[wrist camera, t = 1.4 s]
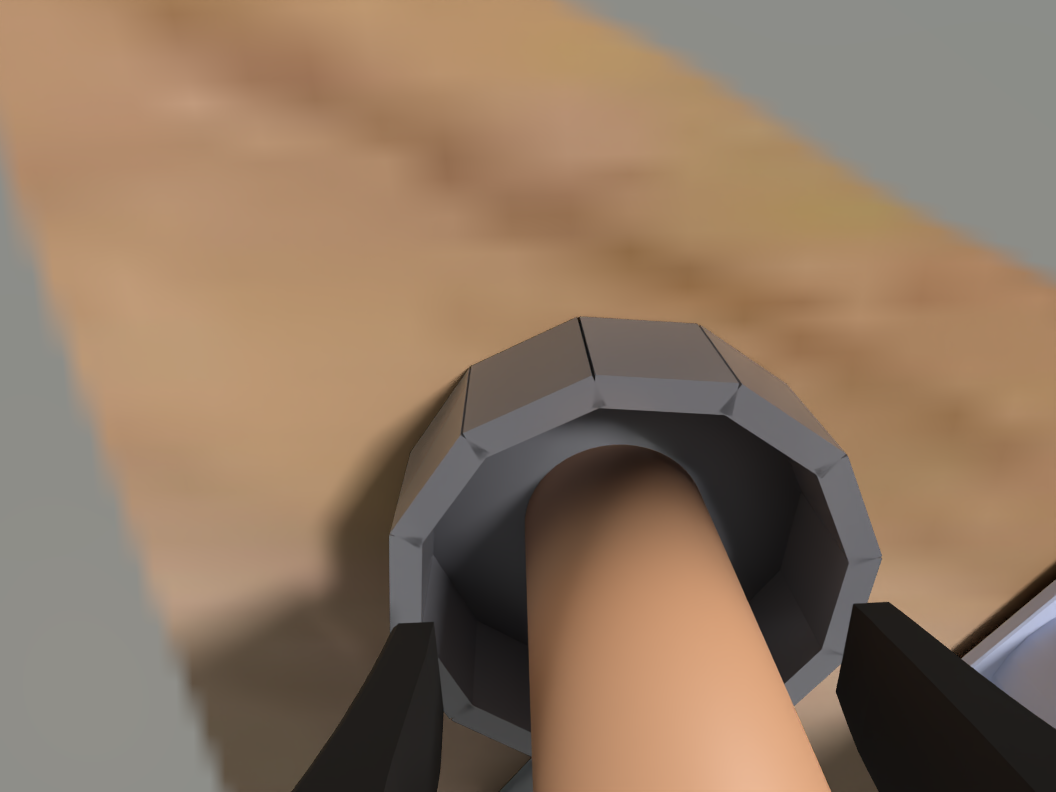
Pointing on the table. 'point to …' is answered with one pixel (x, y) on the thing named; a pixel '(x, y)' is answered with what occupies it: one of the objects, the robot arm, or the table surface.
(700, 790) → the dowel
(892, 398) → the table surface
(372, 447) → the table surface
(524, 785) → the tray
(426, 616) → the grey round bowl
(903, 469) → the table surface
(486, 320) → the table surface
